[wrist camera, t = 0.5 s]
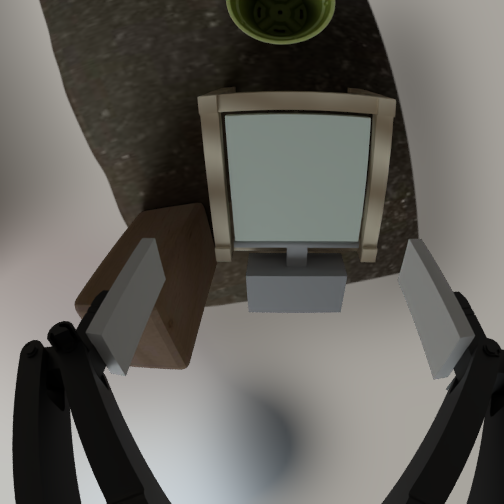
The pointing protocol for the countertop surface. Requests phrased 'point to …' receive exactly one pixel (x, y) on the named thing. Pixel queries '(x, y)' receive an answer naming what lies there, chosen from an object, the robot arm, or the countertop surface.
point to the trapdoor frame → (295, 100)
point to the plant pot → (281, 18)
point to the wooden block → (175, 286)
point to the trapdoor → (297, 203)
